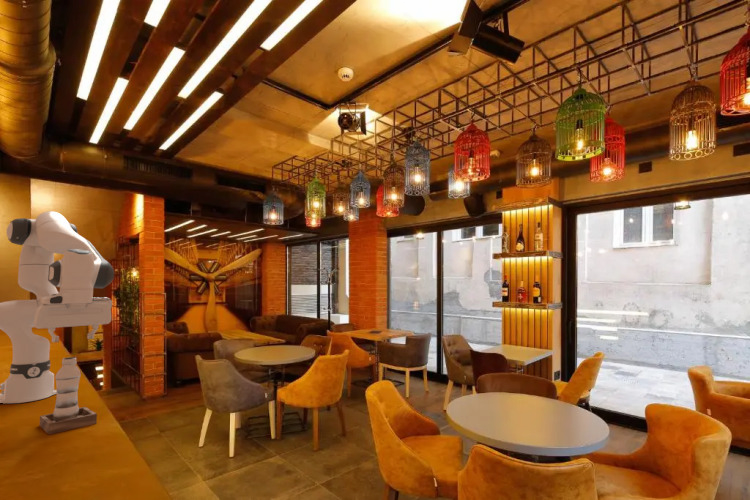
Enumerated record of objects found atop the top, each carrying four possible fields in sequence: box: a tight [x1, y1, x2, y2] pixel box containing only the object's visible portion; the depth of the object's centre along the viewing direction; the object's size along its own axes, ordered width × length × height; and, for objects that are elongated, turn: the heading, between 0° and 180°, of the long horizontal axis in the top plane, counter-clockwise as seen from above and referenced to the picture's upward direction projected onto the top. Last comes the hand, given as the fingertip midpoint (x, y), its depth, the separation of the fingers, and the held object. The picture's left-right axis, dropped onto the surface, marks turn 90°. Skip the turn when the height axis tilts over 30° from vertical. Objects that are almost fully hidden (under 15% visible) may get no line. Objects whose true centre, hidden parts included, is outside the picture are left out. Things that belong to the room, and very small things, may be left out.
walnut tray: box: [39, 406, 98, 435], centre depth 125 cm, size 12×12×3 cm
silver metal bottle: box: [53, 356, 82, 422], centre depth 125 cm, size 6×7×20 cm
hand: (73, 340), depth 127 cm, fingers open, 8 cm apart
